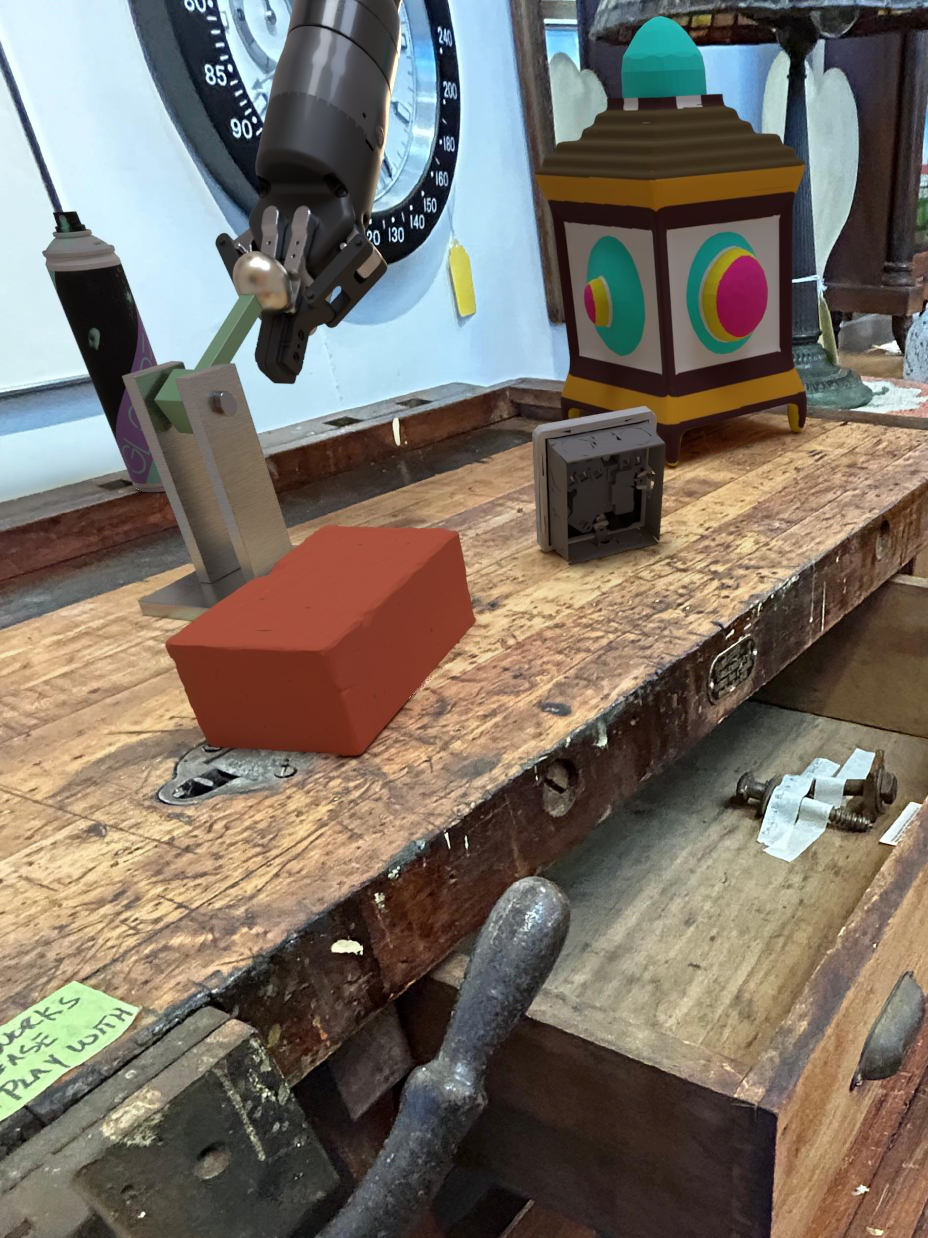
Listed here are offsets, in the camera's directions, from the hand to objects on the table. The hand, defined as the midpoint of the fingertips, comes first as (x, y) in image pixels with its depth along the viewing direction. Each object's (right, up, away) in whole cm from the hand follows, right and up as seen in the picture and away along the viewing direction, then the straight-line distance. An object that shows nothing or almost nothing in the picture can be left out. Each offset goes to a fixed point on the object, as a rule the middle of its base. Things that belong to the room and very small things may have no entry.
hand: (275, 376), depth 71 cm
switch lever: (-1, -1, -3) cm, 3 cm away
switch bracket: (-2, -14, +2) cm, 15 cm away
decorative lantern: (+27, +12, +30) cm, 42 cm away
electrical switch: (+23, -10, +6) cm, 25 cm away
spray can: (-20, +4, +23) cm, 31 cm away
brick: (+9, -24, -9) cm, 27 cm away
